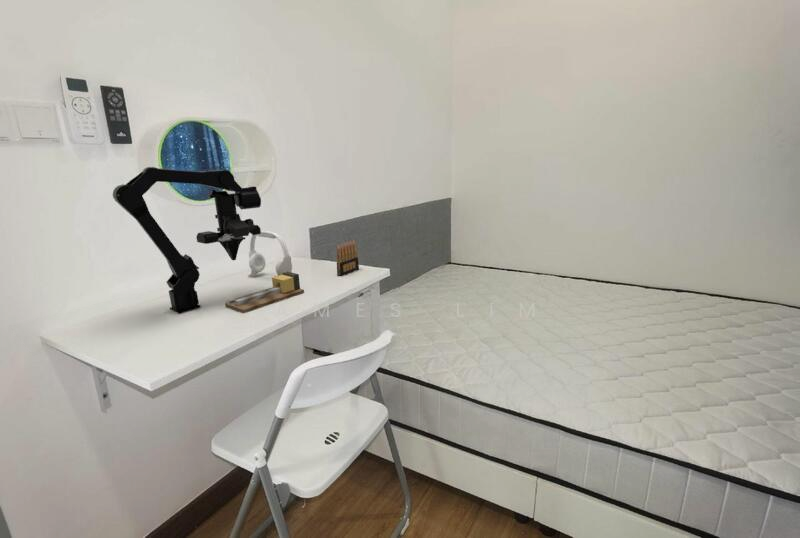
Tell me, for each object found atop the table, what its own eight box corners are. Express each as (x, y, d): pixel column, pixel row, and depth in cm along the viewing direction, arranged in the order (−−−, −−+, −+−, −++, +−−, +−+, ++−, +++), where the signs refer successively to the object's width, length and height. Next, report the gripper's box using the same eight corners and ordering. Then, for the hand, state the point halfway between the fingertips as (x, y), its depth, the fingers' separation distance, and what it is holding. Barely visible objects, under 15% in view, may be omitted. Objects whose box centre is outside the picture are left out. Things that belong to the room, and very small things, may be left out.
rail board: (243, 313, 120) (240, 293, 118) (225, 306, 126) (222, 287, 124) (304, 292, 136) (302, 275, 135) (285, 287, 142) (283, 270, 141)
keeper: (284, 293, 133) (282, 280, 131) (273, 289, 136) (271, 277, 135) (294, 289, 135) (293, 277, 134) (283, 286, 139) (282, 274, 138)
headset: (297, 279, 151) (292, 231, 146) (282, 285, 146) (276, 235, 141) (262, 272, 162) (256, 227, 157) (246, 277, 157) (240, 230, 152)
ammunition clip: (355, 268, 163) (353, 238, 159) (359, 269, 162) (357, 239, 158) (337, 275, 154) (334, 244, 151) (340, 276, 153) (338, 244, 150)
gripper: (210, 217, 116) (218, 270, 121) (267, 208, 130) (273, 257, 134) (191, 214, 123) (200, 265, 127) (248, 207, 137) (254, 253, 141)
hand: (233, 260), depth 132 cm, fingers closed
